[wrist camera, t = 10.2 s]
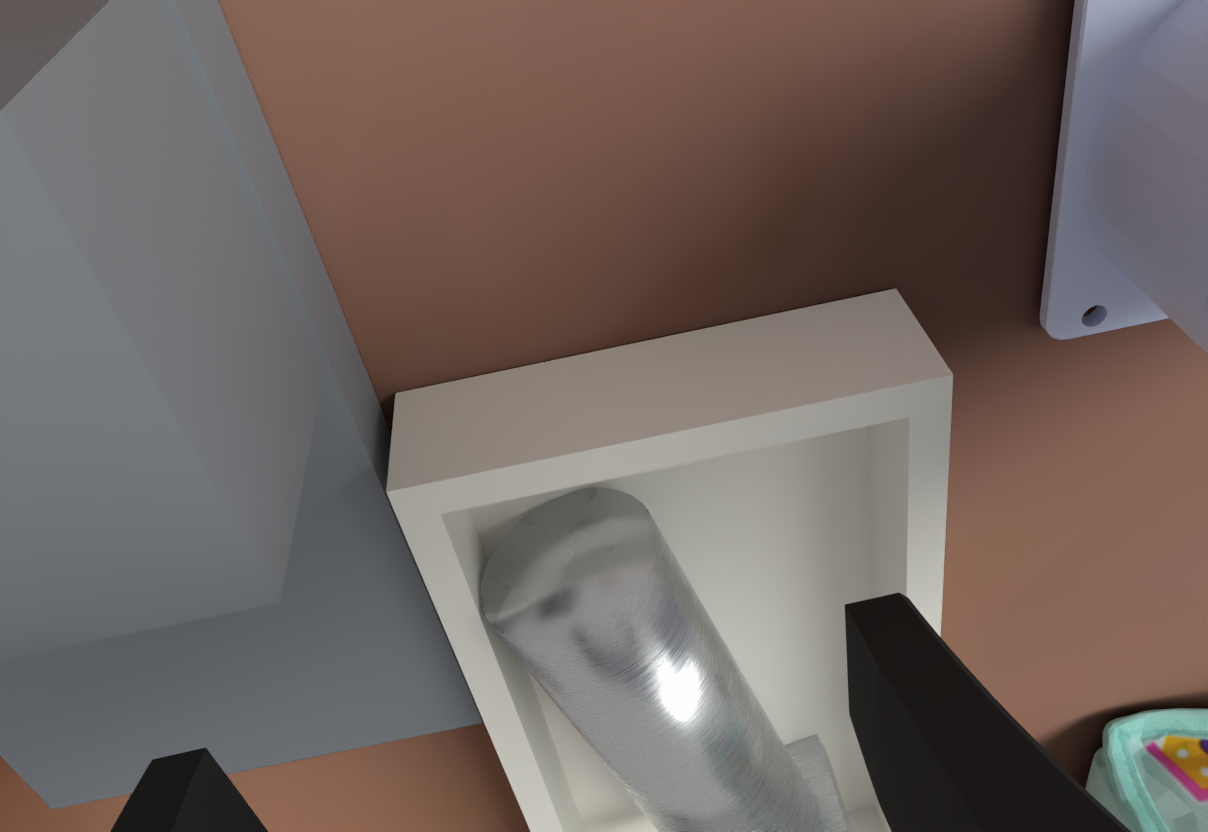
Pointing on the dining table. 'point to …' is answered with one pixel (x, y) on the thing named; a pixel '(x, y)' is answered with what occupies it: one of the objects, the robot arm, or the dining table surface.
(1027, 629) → the dining table surface
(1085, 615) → the dining table surface
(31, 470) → the hitch block
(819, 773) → the grey rounded bar
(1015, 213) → the dining table surface
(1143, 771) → the lunch bag
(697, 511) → the tray
